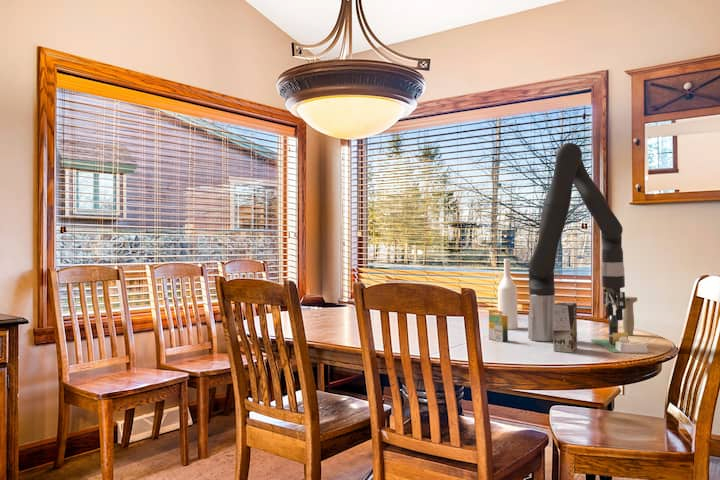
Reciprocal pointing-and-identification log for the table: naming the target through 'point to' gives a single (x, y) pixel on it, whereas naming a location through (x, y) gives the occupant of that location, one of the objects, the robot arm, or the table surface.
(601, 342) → the pitch
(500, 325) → the crayon box
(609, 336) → the brown cardboard carton
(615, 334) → the long multicoloured device
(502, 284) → the bottle
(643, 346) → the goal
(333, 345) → the table surface
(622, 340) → the ball
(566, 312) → the coffee box
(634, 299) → the handle
